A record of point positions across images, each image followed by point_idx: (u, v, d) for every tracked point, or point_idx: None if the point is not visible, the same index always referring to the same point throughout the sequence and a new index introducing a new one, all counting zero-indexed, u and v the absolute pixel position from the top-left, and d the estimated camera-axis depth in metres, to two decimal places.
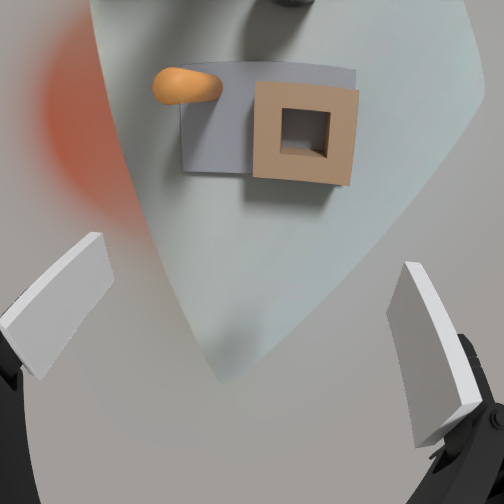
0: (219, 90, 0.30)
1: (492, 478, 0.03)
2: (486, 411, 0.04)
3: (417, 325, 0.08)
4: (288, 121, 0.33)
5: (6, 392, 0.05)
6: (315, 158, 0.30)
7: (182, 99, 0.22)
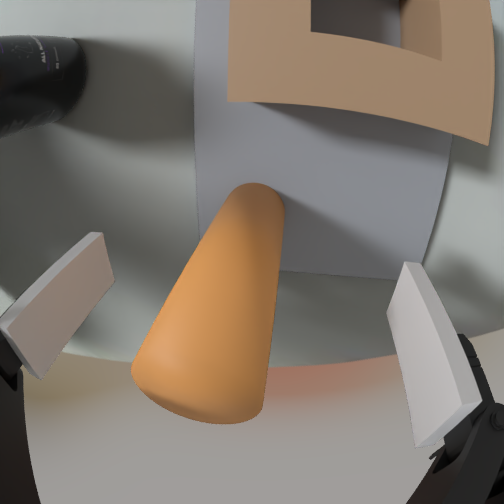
0: (259, 192, 0.15)
1: (492, 478, 0.03)
2: (486, 411, 0.04)
3: (417, 325, 0.08)
4: None
5: (6, 392, 0.05)
6: None
7: (248, 374, 0.06)
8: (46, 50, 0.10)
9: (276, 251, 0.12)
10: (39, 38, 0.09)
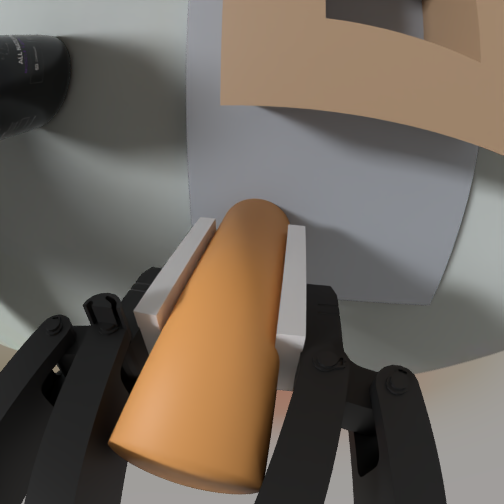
0: (262, 212, 0.13)
1: (340, 423, 0.05)
2: (305, 355, 0.07)
3: None
4: None
5: (123, 402, 0.06)
6: None
7: (245, 468, 0.04)
8: (24, 51, 0.08)
9: None
10: (18, 37, 0.07)
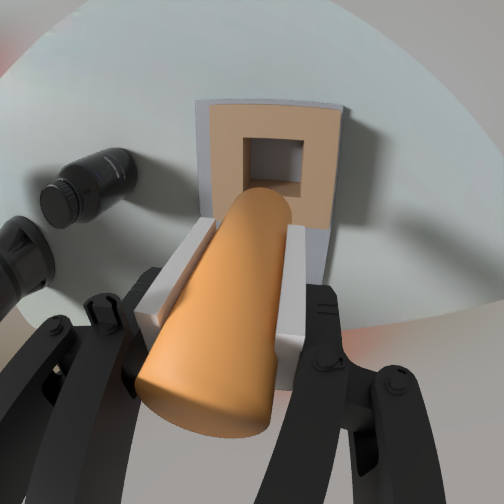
0: (267, 198, 0.14)
1: (339, 423, 0.05)
2: (304, 355, 0.07)
3: None
4: (268, 173, 0.29)
5: (124, 402, 0.06)
6: (305, 154, 0.23)
7: (256, 393, 0.06)
8: (117, 169, 0.28)
9: None
10: (110, 159, 0.28)
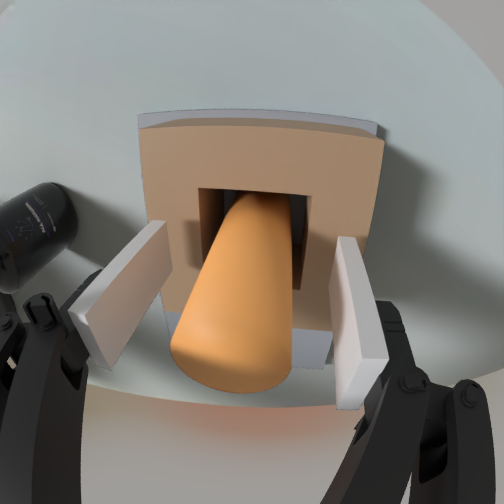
0: None
1: (416, 444, 0.04)
2: (392, 375, 0.06)
3: (342, 291, 0.10)
4: None
5: (67, 392, 0.06)
6: (312, 222, 0.13)
7: (281, 337, 0.07)
8: (42, 220, 0.18)
9: (289, 238, 0.13)
10: (34, 206, 0.17)
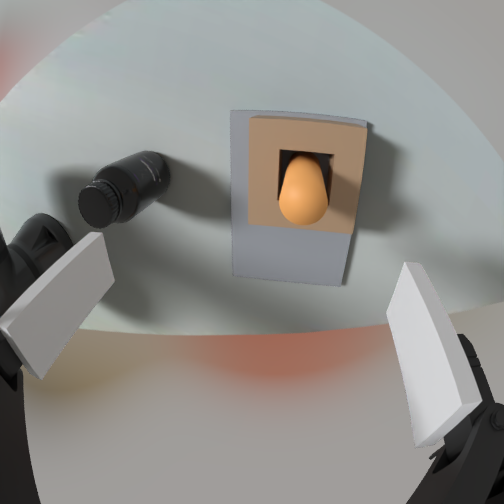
0: (309, 153, 0.29)
1: (492, 478, 0.03)
2: (486, 411, 0.04)
3: (417, 325, 0.08)
4: None
5: (6, 392, 0.05)
6: (335, 167, 0.26)
7: (323, 190, 0.20)
8: (153, 172, 0.31)
9: (321, 173, 0.25)
10: (146, 162, 0.30)
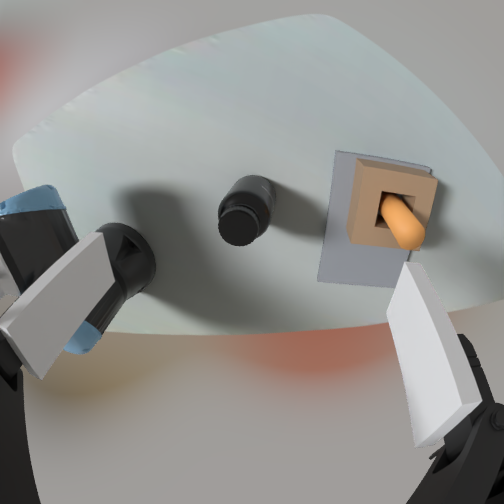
0: None
1: (492, 478, 0.03)
2: (486, 411, 0.04)
3: (417, 325, 0.08)
4: None
5: (6, 392, 0.05)
6: (415, 205, 0.34)
7: (423, 228, 0.28)
8: (272, 197, 0.39)
9: None
10: (266, 188, 0.38)
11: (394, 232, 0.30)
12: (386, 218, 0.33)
